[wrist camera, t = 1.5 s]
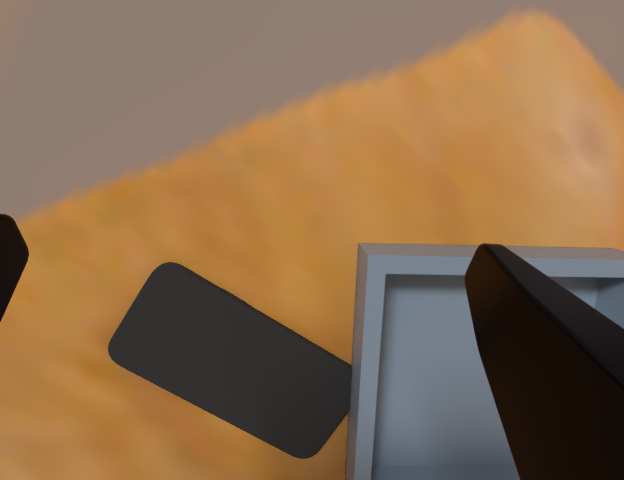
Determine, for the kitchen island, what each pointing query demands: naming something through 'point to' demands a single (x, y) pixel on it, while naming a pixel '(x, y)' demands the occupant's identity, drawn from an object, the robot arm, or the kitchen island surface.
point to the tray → (441, 359)
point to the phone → (232, 361)
